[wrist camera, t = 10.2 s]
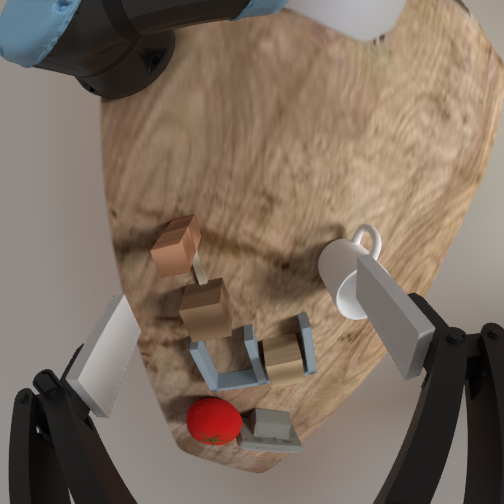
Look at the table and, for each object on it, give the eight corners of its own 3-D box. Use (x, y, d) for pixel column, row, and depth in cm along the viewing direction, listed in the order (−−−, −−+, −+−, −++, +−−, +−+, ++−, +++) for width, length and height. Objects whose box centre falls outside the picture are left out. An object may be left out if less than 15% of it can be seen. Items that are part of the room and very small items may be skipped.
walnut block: (164, 222, 39) (140, 253, 29) (202, 212, 39) (190, 240, 29) (197, 315, 46) (189, 361, 36) (232, 308, 46) (231, 354, 36)
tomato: (193, 385, 53) (188, 425, 44) (247, 396, 56) (249, 435, 46) (184, 410, 58) (179, 446, 48) (233, 420, 60) (233, 455, 50)
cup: (309, 279, 44) (326, 316, 35) (333, 208, 40) (360, 231, 30) (353, 286, 45) (377, 322, 36) (379, 221, 41) (412, 246, 31)
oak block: (262, 339, 49) (265, 366, 42) (294, 332, 48) (302, 359, 42) (268, 361, 51) (271, 388, 45) (298, 354, 51) (305, 381, 44)
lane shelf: (192, 335, 48) (189, 350, 44) (306, 312, 47) (311, 326, 43) (212, 377, 52) (211, 392, 49) (312, 358, 51) (316, 372, 48)
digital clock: (229, 417, 59) (228, 453, 49) (248, 400, 56) (250, 439, 47) (282, 430, 63) (286, 463, 53) (303, 415, 60) (310, 449, 51)
